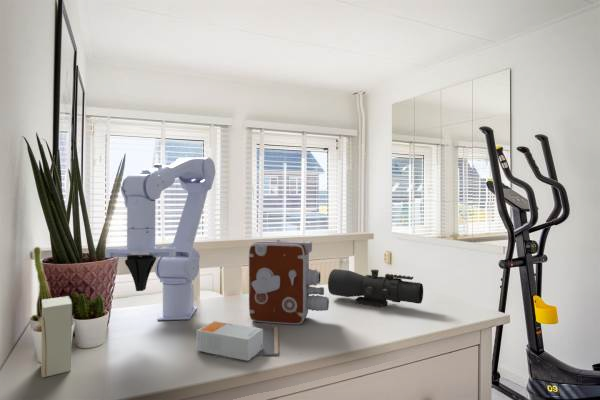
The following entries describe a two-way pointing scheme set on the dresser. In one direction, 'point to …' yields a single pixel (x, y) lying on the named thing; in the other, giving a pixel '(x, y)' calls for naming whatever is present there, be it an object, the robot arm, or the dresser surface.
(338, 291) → the rifle scope
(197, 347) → the skincare box
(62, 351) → the skincare box
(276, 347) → the rubber mat
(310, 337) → the dresser surface
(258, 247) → the cine camera
